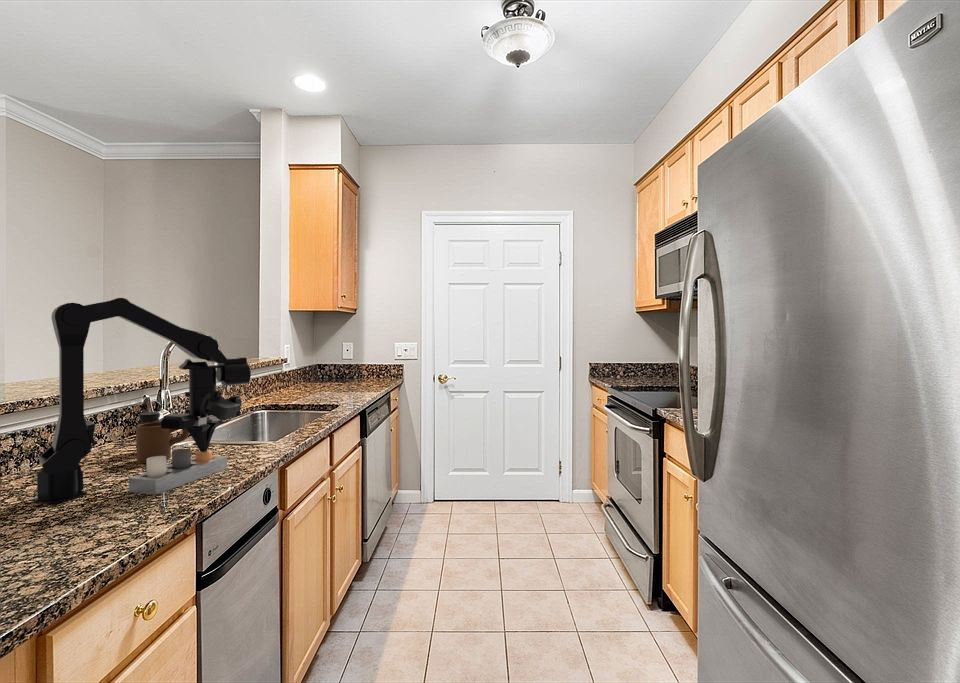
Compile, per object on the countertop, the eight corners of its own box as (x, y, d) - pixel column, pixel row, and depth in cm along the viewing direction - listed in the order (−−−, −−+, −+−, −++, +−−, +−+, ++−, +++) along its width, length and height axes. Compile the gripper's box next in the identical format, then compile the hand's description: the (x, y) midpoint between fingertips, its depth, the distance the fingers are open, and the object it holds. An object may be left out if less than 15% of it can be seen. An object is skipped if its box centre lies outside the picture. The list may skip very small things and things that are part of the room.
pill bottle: (131, 454, 136) (130, 414, 136) (152, 448, 142) (151, 410, 142) (148, 455, 134) (147, 415, 134) (168, 450, 140) (167, 411, 140)
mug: (192, 453, 137) (191, 419, 136) (187, 460, 130) (186, 424, 129) (140, 457, 132) (140, 422, 132) (133, 465, 125) (132, 428, 125)
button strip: (155, 494, 102) (155, 480, 102) (129, 492, 104) (128, 478, 104) (227, 468, 122) (227, 456, 122) (203, 466, 124) (203, 454, 123)
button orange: (204, 472, 117) (204, 453, 117) (192, 471, 118) (191, 452, 118) (216, 468, 121) (215, 450, 120) (203, 467, 121) (203, 449, 121)
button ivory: (156, 481, 104) (155, 460, 104) (142, 479, 105) (142, 459, 105) (170, 476, 108) (170, 456, 108) (157, 475, 109) (157, 455, 109)
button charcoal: (181, 472, 111) (181, 453, 111) (168, 471, 112) (168, 452, 112) (194, 468, 114) (194, 449, 114) (181, 467, 115) (181, 448, 115)
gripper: (199, 393, 108) (200, 464, 108) (257, 384, 126) (258, 444, 126) (158, 391, 110) (159, 460, 111) (221, 382, 129) (221, 442, 129)
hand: (203, 451), depth 119 cm, fingers closed, pressing on button orange
